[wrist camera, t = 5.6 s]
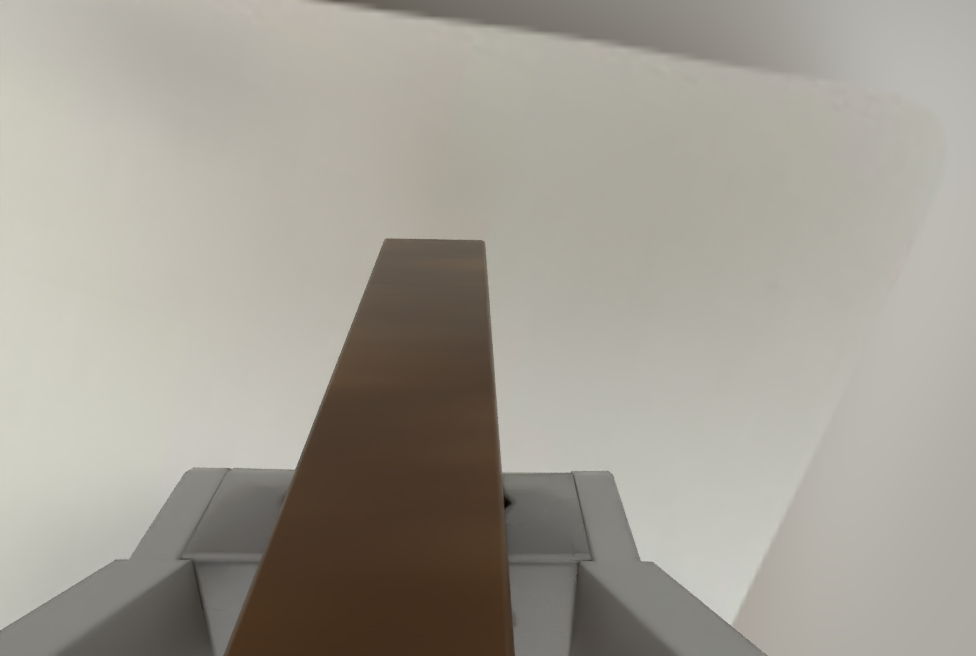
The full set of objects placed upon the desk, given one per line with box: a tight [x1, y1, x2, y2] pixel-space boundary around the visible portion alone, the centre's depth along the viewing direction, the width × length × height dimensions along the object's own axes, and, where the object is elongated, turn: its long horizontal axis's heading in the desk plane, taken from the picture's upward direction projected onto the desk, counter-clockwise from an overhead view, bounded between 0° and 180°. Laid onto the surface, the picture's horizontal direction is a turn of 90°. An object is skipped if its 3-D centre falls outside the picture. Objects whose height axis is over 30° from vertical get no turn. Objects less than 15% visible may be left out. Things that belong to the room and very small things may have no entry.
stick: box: [223, 238, 515, 656], centre depth 10 cm, size 2×2×14 cm
